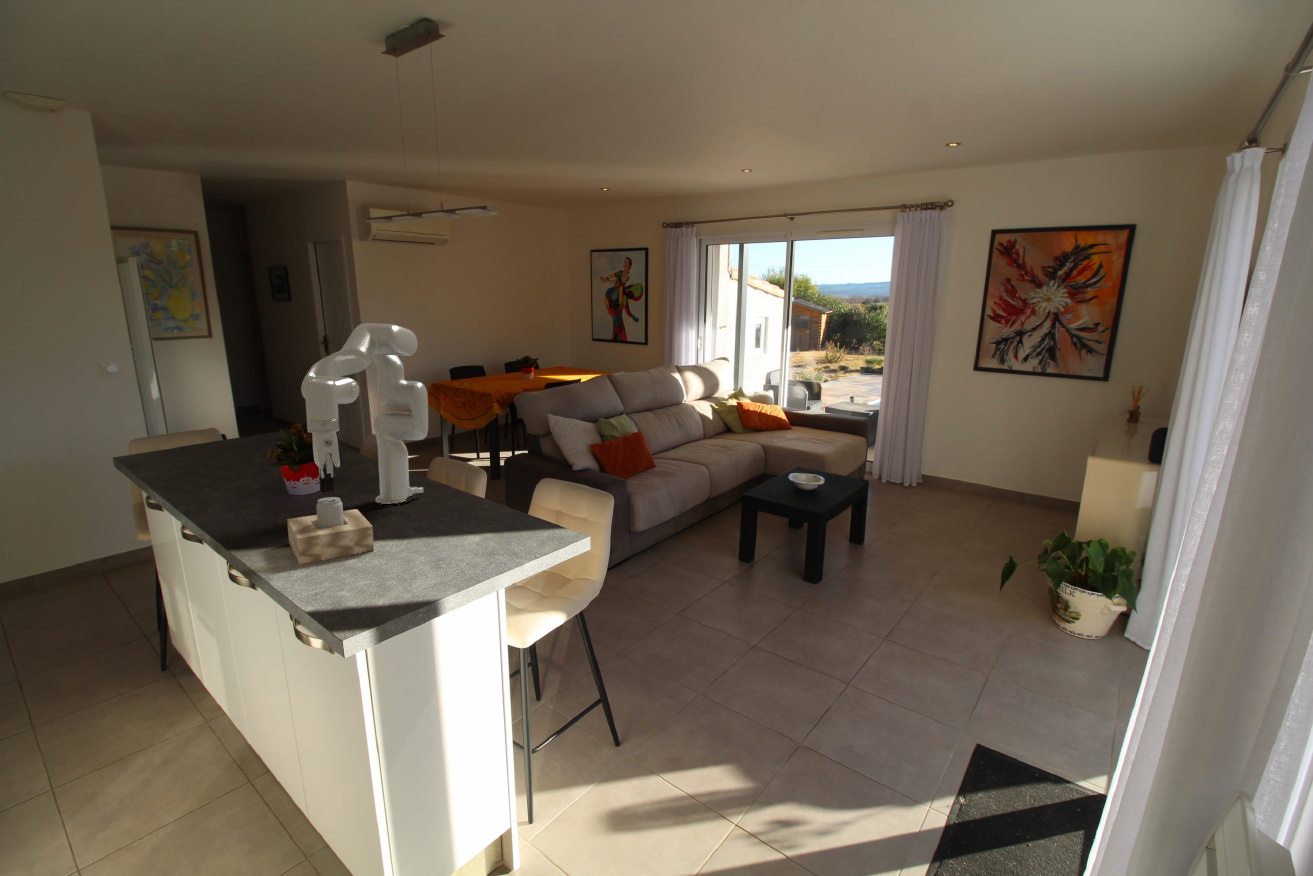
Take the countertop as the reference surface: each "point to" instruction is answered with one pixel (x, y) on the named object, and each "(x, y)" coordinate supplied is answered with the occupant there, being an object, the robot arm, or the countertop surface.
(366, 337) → the robot arm
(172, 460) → the countertop surface
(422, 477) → the countertop surface
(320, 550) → the holder block
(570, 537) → the countertop surface
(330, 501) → the beverage can
